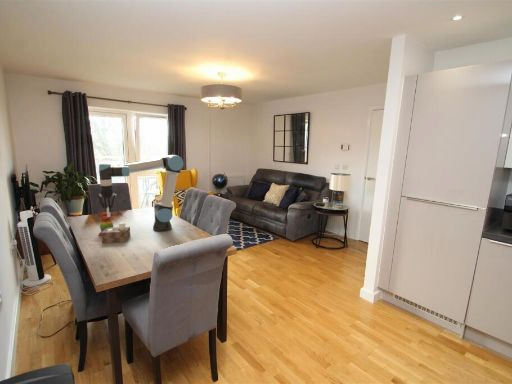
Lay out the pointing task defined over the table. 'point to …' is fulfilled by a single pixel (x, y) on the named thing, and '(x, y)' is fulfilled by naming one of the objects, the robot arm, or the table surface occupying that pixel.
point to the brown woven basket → (115, 235)
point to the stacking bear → (105, 222)
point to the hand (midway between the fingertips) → (108, 216)
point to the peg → (122, 226)
